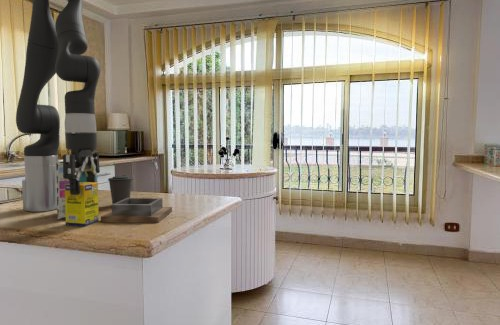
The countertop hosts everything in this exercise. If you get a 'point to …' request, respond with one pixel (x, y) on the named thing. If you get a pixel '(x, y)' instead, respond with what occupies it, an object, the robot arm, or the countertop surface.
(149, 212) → the caddy
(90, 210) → the supplement box
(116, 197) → the coffee cup
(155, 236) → the countertop surface
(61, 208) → the candy bar box
